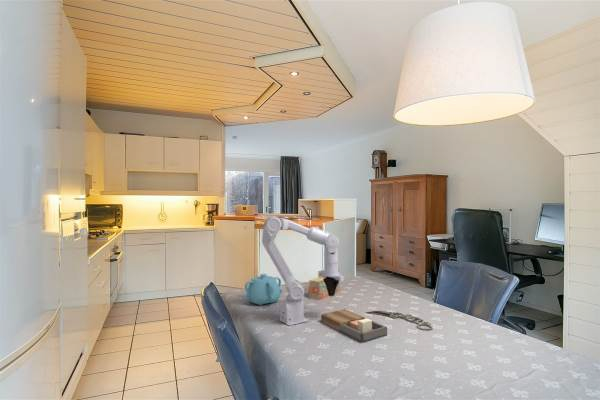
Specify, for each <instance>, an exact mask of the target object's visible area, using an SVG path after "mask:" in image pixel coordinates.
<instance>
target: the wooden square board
mask: <svg viewBox="0 0 600 400" xmlns="http://www.w3.org/2000/svg"><path fill="white" fill-rule="evenodd" d="M320 317H321V318H320V319H321V322H322V323H323V324H325V325H326V326H329V327H330V328H332V329H334V330H335V331H338V332H340V323H343V324H345V325H347V326H349V327H350V322H352V321H356V320H363V318H365V317H364V316H362V315H359V314H357V313H354V312H352V311H350V310H348V309H345V308H344V309H339V310H335V311H330V312H326V313H321V315H320Z"/></svg>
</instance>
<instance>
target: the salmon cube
mask: <svg viewBox="0 0 600 400" xmlns="http://www.w3.org/2000/svg"><path fill="white" fill-rule="evenodd" d="M358 321H359V320H356V321H352V322H350V327H351V328H353V329H355V330H357V331H358Z"/></svg>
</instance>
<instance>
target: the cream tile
mask: <svg viewBox="0 0 600 400" xmlns="http://www.w3.org/2000/svg"><path fill="white" fill-rule="evenodd" d="M372 321H373V320H372V319H369V318H367V319H363V320H359V321H358V331H359V332H361V333H363V332H367V331H371V330H372Z"/></svg>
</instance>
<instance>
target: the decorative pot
mask: <svg viewBox="0 0 600 400" xmlns="http://www.w3.org/2000/svg"><path fill="white" fill-rule="evenodd" d="M277 280H278V281H277ZM281 285H282V280H281V278H280V277H279V276H278V277H277V276H275V277H273V276H271V275H270V276H269V275H268V274H266V273H260V275H259V276H255V277H252V278H251V280H247V282H246V283H245V284H244V288H245V289H244V290H245V291H246V293H245V294H244V296H243V297H244V299H245V300H249V302H250V303H253V304H255V305H256V304H257V306H263V305H264V304H275V303H276V302H277V301H278V300H279V299H280V297H281V294H282V293H283V290H282V288H281Z"/></svg>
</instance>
